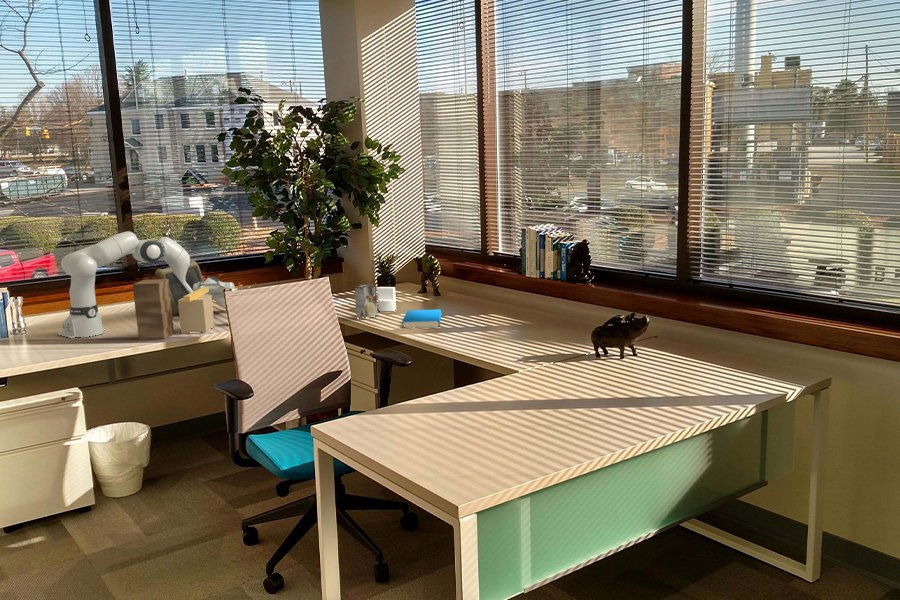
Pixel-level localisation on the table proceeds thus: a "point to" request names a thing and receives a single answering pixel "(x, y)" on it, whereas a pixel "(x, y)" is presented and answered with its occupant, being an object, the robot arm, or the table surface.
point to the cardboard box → (196, 314)
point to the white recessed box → (386, 298)
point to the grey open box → (175, 291)
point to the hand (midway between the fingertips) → (209, 282)
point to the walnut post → (153, 309)
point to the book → (422, 318)
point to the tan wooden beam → (196, 294)
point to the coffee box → (366, 300)
